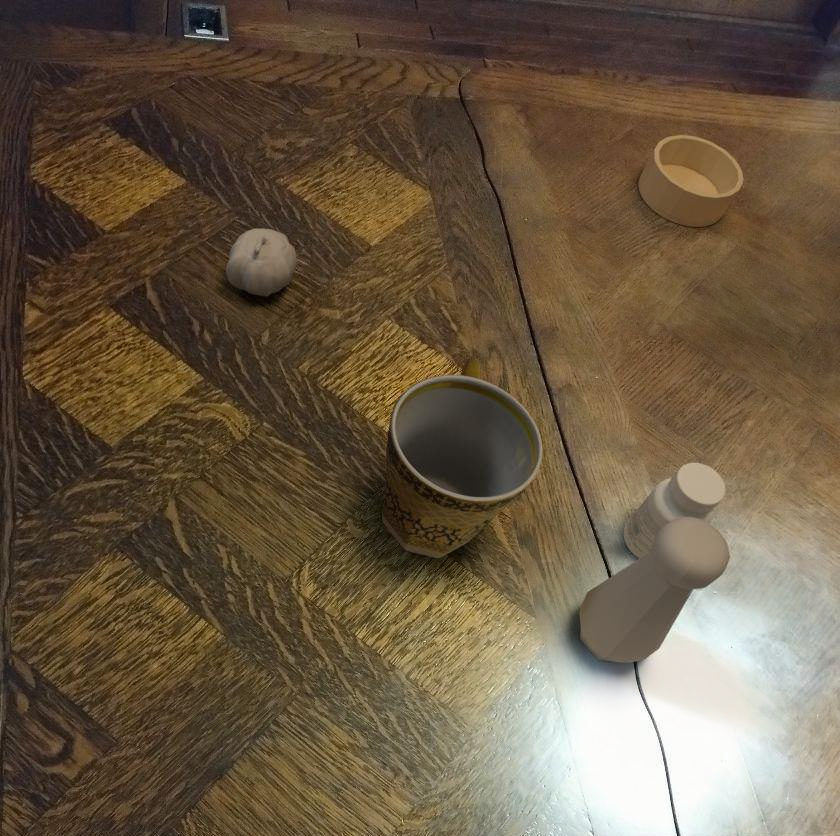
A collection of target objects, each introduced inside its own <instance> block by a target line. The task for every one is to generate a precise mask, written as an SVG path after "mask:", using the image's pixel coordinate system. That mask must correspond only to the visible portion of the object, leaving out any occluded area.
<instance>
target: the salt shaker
mask: <svg viewBox="0 0 840 836" xmlns="http://www.w3.org/2000/svg"><path fill="white" fill-rule="evenodd" d="M730 559H731V555H730V550H729V545H728V542H727V541H726V539H725V538H724V537H723V535H722V533H721V532H720V531H719V530H718V529H717V528H716V527H714V526H713V525H711V523H710V524H709V523H707V522H706V521H703V520H700V519H697V518H694V517H691V516H689V517H679V518H676V519H674V520H673V521H671V522H669V523H668V524H666V525H665V526H663V527H662V528H661V529H660V530H659V531H658V532H657V534H656V535H655V538H654V541H653V543H652V546H651V552H650V553H648V554H647V555H645V556H643V557H642V558H640V559H639V558H638V559H637V560H635V561H634V562H633V563H631V564H629V565H627V566H626V567H625V568H623V569H622V570H620V571H618V572H616V573H615V574H614V575H611V576H610V577H609V578H607V579H606V580H604V581H602V582H601V583H599V584H598V585H597V586H595V587H593V588H591V589H590V590H588V591H587V592H586V593H585V596H584V598H583V601H582V604H581V606H580V609H579V611H578V612H579V621H580V622H579V623H580V638H579V639H580V641H581V642H582V643H583V645H584V646H586V648H587V649H588V650H589V651H590V652H591V654H592V655H594V657H595V658H596V659H597V660H598V661H605V662H614V663H615V662H616V663H622V664H623V663H624V664H627V663H634V662H642V661H644V660H646V659H647V658H649V657H650V656H652V655H653V654H655V652H656V651H658V650H659V649H660V648H661V647H662V644H663V643H664V641H665V640H666V637H667V635H668V634H669V632H670V630H671V629H672V627H673V625H674V623H675V622H676V620H677V619H678V617H679V616H680V615H679V614H680V613H681V612H682V609H683V608H684V606H685V605H686V603H687V601H688V600H689V598H690V596H691V594H692V592H693V590H699V589H700V590H701V589H705V588H708V586H710V585H711V584H713V582H715V581H716V580H718V579H719V578H721V576H723V574H724V572H725V571H726V570H727V568H728V564H729V561H730Z"/></svg>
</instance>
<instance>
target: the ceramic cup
mask: <svg viewBox="0 0 840 836" xmlns="http://www.w3.org/2000/svg"><path fill="white" fill-rule="evenodd" d="M480 378H481V367H480V362H479V361H478V360H477V359H474V358H472V357H471V358H467V359H466V360H465V362H464V364H463V367H462V369H461V372H460V374H442V375H435V376H431V377H428V378H423V379H422V380H419V381H417V382H416V383H414V384H412V385H411V386H410V387H408V388H406V390H404V392H402V394H401V395H400V396H399V397H398V399H397V400H396V402H395V403H394V406H393V407H392V410H391V414H390V418H389V424H388V430H387V439H386V452H385V453H386V454H385V469H386V471H385V472H386V480H385V490H384V498H383V507H382V517H381V518H382V519H381V520H382V522H383V524H384V526H385V527H386V529H387V530H388V531H389V532H390V534H391V535H392V536H393V537H394V538H395V541H397V543H398V544H399V546H401V548H402V549H403V550H404V551H406V552H410V553H414V554H417V555H422V556H426V557H430V558H433V559H441V558H442V557H445V556H446V555H448V554H450V553H452V552H454V551H455V550H457V549H459V548H461V547H462V546H464V545H466V544H467V543H469V542H470V541H471V540H472V539H473V538H475V537H476V536H477V535H478V534H479V533H480V531H481V530H482V529H484V528H485V527H486V526H487V525H488V524H489V523H490V522H492V520H493V519H495V517H497V516H498V514H499V513H501V512H502V511H503V510H505V509H506V508H508V507H509V506H510V505H511V504H512V503H514V501H515V500H516V499H518V497H520V496H521V495H522V494H523V493H524V492H525V491H526V490H527V488H528V487H529V486H530V484H531V483H532V482H533V481H534V480H535V478H536V476H537V475H538V473H539V470H540V468H541V464H542V461H543V441H542V437H541V434H540V431H539V428H538V426H537V424H536V422H535V420H534V418H533V417H532V416H531V414H530V413H529V411H528V410H527V409H526V408H525V407H524V405H523V404H521V402H520V401H519V400H518V399H516V397H514V396H513V395H511V394H510V393H509V392H507V391H506V390H504V389H502V388H501V387H499V386H497V385H495V384H493V383H491V382H488V381H486V380H484V379H480Z"/></svg>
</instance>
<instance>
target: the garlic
mask: <svg viewBox="0 0 840 836" xmlns="http://www.w3.org/2000/svg"><path fill="white" fill-rule="evenodd" d="M297 256H298V255H297V251H296V249H295V247H294V246H292V244H291V243H290V242H289V238H288V236H287V235H286V234H284V233H282V232H279V231H276V230H274V229H270V228H261V227H260V228H256V227H255V228H252V229H249V230H246V231H245V232H243V233H242V234H240V235H239V236H238V237H237V239H236V240H235V242H234V244H232V245H231V248H230V251H229V260H228V262H227V263H226V266H225V267H226V268H225V275H226V278H227V280H228V282H229V283H230V285H232V286H233V287H234V288H236V289H238V290H241V291H245V292H247V293H248V294H250V295H253V296H254V295H255V296H260V297H269V296H270V295H271V294H275V293H278V292H280V291H281V290H282V289H283V288H285V287H287V286H289V285H290V284H291V281H292V279H293V278H292V277H293V275H294V272H295V271H296V266H297Z"/></svg>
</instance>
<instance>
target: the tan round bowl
mask: <svg viewBox="0 0 840 836" xmlns="http://www.w3.org/2000/svg"><path fill="white" fill-rule="evenodd" d="M743 173H744V172H743V170H742V168H741V166H740V165H739V162H738V160H736V159H735V157H734V156H732V155H731V154H730V153H729V152H728V151H727V150H726V149H724V148H722V147H721V146H719V145H717V144H715V143H714V142H713V141H710V140H708V139H705V138H701V137H698V136H694V135H687V134H677V135H670V136H667V137H665V138H663V139H661V140H659V141H658V143H657V144H656V145H655V148H654V149H653V151H652V153H651V155H650V156H649V159H648V160H647V162H646V164H645V166H644V167H643V170H642V172H641V173H640V175H639V178H638V183H637V185H638V191H639V195H640V196H641V198H642V200H643V201H644V203H645V204H646V205H647V206H648V207H649V208H650V209H651V210H652V211H653V212H654V213H656V214H658V215H659V216H660V217H662V218H664V219H665V220H668V221H669V222H671V223H675V224H677V225H680V226H686V227H692V228H694V227H695V228H701V227H708V226H711V225H714V224H715V223H717V222H718V221H719V220H720V219H722V217H723V216H724V215H725V213H726V212H727V211H728V208H730V205H731V204H732V203H733V201H734V199H735V198H736V196H737V194H739V192H740V190H741V187H742V186H743V185H744V175H743Z"/></svg>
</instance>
